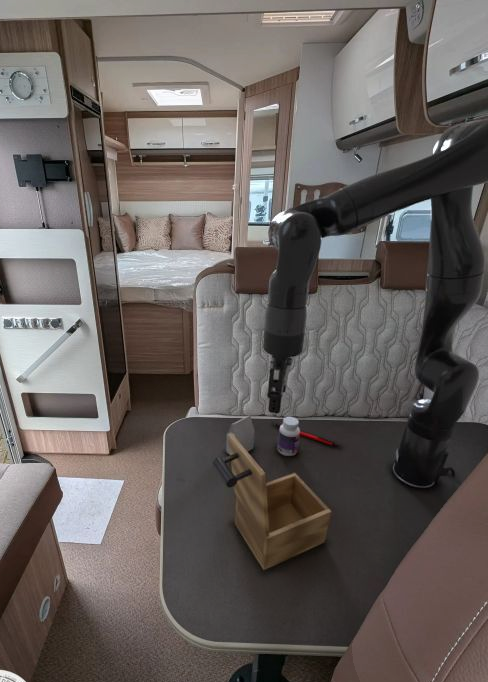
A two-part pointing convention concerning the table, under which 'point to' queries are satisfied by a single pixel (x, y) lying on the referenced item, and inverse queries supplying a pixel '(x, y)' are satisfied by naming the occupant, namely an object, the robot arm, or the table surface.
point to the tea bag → (242, 433)
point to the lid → (245, 482)
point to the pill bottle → (288, 437)
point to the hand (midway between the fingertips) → (277, 401)
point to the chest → (285, 522)
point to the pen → (315, 438)
